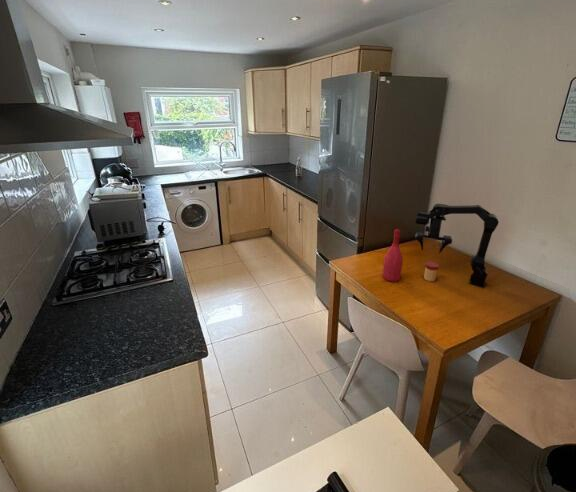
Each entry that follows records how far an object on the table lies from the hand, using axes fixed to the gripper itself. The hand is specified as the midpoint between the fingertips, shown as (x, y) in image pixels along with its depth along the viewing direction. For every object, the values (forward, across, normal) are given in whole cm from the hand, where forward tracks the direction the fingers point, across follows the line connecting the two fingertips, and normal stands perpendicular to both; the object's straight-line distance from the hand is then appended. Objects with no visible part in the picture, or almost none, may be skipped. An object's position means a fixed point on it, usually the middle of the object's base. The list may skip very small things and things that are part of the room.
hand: (430, 251), depth 174 cm
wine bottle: (+14, +20, +15) cm, 28 cm away
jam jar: (+14, -1, +7) cm, 15 cm away
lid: (+5, -1, +7) cm, 9 cm away
